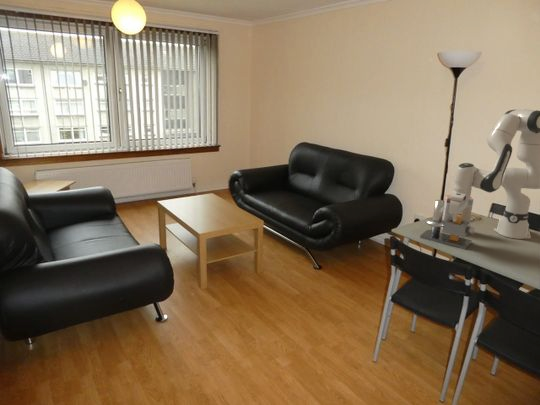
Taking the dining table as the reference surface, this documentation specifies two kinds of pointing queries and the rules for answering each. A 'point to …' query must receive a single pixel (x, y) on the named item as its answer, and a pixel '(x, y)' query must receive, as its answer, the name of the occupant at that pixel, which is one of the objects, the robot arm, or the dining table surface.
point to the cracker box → (465, 213)
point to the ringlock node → (447, 228)
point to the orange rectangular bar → (459, 220)
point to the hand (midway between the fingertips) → (457, 218)
